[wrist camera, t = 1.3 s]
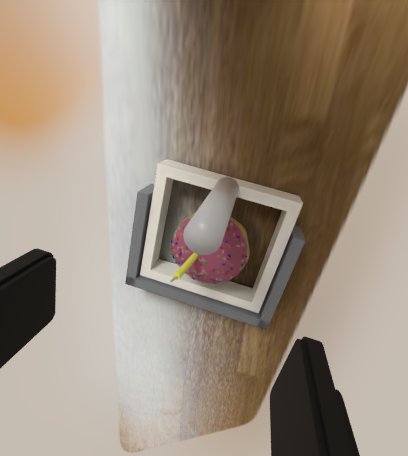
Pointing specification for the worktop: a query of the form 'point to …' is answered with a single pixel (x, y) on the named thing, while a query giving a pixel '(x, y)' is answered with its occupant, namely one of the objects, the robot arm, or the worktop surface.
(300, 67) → the worktop surface
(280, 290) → the holder bay
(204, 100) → the worktop surface
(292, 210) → the collar
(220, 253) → the pink frosted cake
